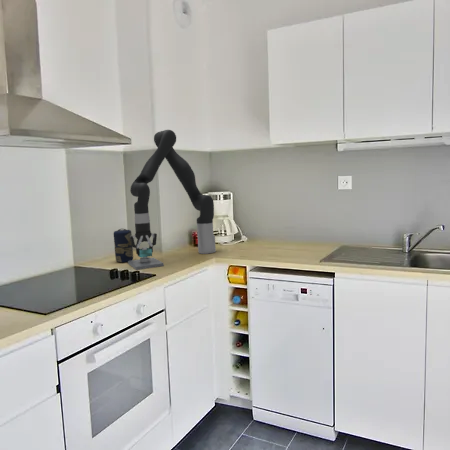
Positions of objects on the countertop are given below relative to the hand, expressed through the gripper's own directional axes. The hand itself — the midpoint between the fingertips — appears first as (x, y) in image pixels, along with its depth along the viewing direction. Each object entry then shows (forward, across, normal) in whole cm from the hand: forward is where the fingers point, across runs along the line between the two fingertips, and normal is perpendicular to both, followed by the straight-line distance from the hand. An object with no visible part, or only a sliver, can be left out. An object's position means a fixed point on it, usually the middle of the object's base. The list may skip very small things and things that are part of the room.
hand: (144, 254), depth 217 cm
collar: (+1, 0, 0) cm, 1 cm away
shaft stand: (+6, 0, 0) cm, 6 cm away
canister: (+6, +7, -17) cm, 19 cm away
